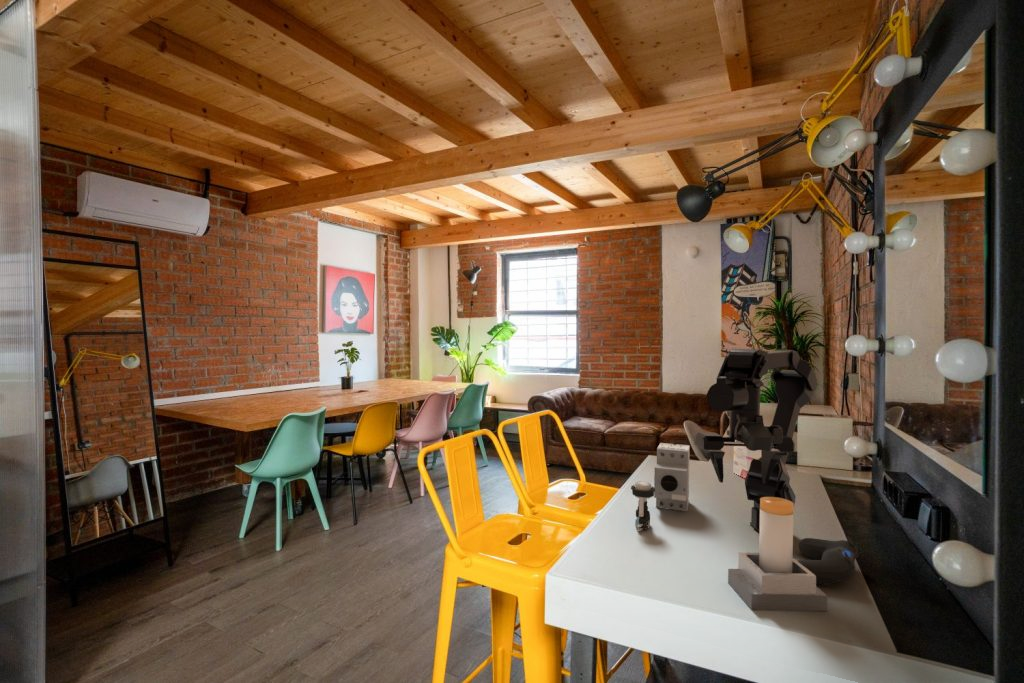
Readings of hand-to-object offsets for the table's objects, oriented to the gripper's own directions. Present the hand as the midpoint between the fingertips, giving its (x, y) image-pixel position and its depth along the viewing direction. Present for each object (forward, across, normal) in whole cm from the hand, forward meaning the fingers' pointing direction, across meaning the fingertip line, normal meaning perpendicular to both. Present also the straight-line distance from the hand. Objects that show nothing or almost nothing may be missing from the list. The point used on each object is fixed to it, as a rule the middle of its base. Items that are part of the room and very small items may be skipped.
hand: (742, 482), depth 108 cm
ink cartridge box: (+12, +26, +53) cm, 60 cm away
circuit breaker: (+13, -8, +22) cm, 27 cm away
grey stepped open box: (+13, -4, -22) cm, 26 cm away
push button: (+13, -19, +9) cm, 25 cm away
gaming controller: (+13, +10, -12) cm, 21 cm away
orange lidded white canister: (+11, -4, -22) cm, 24 cm away
